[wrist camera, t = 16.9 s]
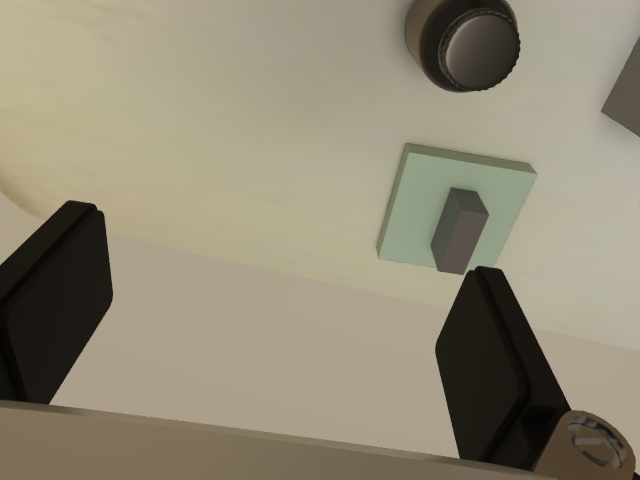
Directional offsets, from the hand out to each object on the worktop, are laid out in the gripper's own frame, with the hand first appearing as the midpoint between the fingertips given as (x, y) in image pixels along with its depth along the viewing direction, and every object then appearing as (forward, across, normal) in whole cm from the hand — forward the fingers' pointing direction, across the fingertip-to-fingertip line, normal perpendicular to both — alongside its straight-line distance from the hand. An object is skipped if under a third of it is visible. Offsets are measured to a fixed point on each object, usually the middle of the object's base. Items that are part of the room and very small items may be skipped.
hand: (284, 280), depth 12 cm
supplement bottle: (+34, -10, -3) cm, 35 cm away
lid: (+33, -16, +14) cm, 40 cm away
